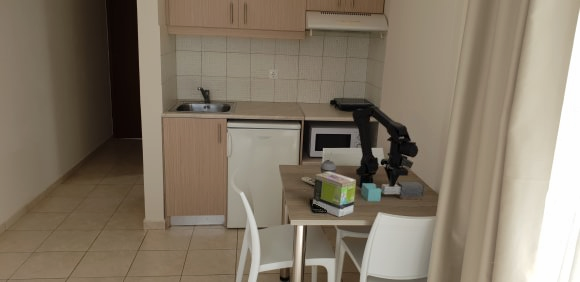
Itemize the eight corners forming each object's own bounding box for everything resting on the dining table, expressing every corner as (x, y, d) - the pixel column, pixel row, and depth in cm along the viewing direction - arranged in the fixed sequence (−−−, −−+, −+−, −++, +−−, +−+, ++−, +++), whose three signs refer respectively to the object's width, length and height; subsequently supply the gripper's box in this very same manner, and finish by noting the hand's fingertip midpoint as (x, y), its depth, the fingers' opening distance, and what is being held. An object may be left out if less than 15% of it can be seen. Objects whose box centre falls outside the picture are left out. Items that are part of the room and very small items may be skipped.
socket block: (367, 201, 207) (368, 189, 206) (361, 194, 215) (362, 183, 214) (380, 201, 208) (381, 189, 207) (373, 194, 217) (374, 183, 215)
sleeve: (400, 199, 212) (402, 185, 210) (395, 195, 217) (397, 181, 215) (422, 199, 214) (424, 185, 212) (417, 195, 219) (419, 182, 217)
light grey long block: (384, 194, 211) (385, 177, 209) (381, 191, 214) (383, 175, 212) (418, 194, 214) (420, 177, 212) (414, 191, 217) (416, 175, 215)
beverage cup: (324, 188, 221) (327, 148, 216) (336, 192, 216) (340, 151, 212) (315, 191, 215) (318, 150, 211) (328, 195, 211) (331, 154, 206)
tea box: (353, 212, 192) (357, 179, 189) (338, 217, 185) (341, 183, 182) (327, 202, 203) (329, 170, 199) (311, 206, 196) (314, 173, 193)
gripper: (421, 157, 201) (416, 191, 205) (403, 147, 219) (399, 178, 223) (397, 157, 199) (393, 191, 203) (381, 147, 217) (378, 178, 220)
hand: (391, 184), depth 212 cm, fingers closed on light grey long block, 2 cm apart
